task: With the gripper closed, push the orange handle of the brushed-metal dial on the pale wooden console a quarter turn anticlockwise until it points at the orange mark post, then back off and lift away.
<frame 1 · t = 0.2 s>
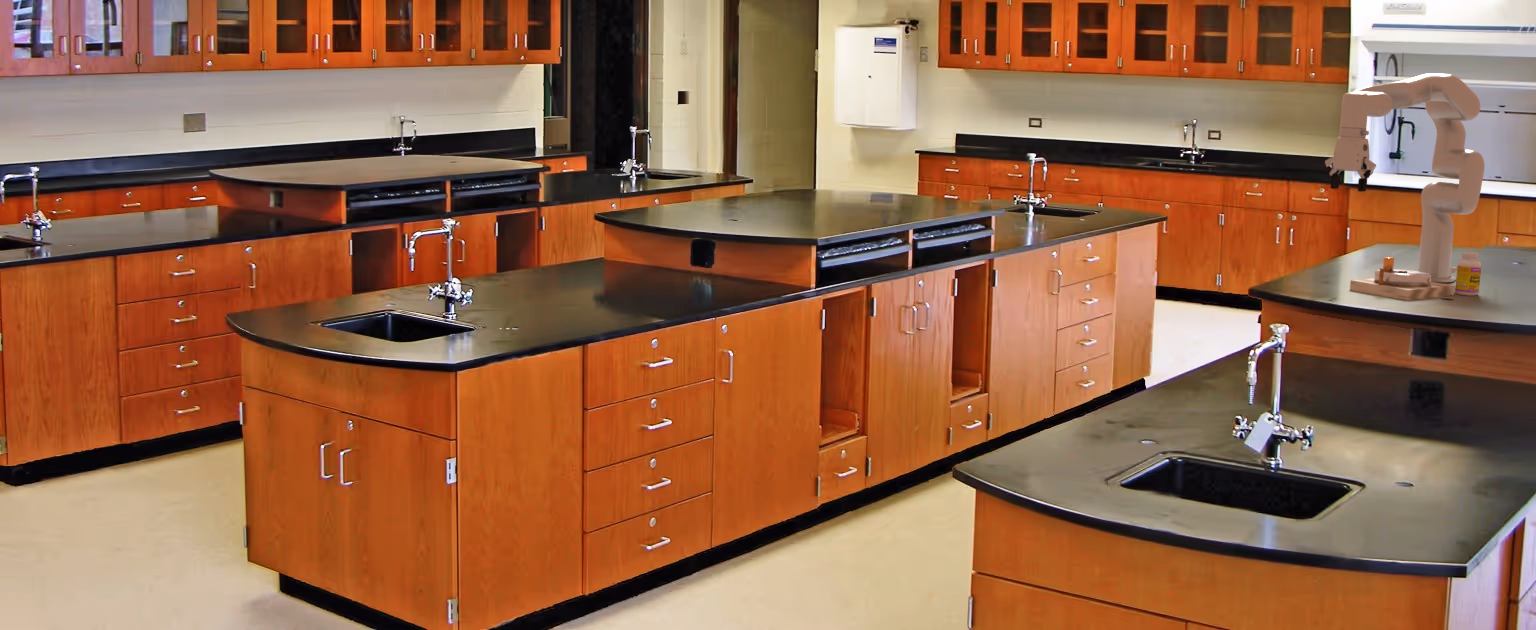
hand: (1348, 189, 475), 31 cm above the counter, fingers open, 9 cm apart
dial: (1403, 271, 474), point 7 cm above the counter, hinge at 0.0°
dial base: (1401, 292, 475), on the counter
supplement bottle: (1466, 295, 474), on the counter
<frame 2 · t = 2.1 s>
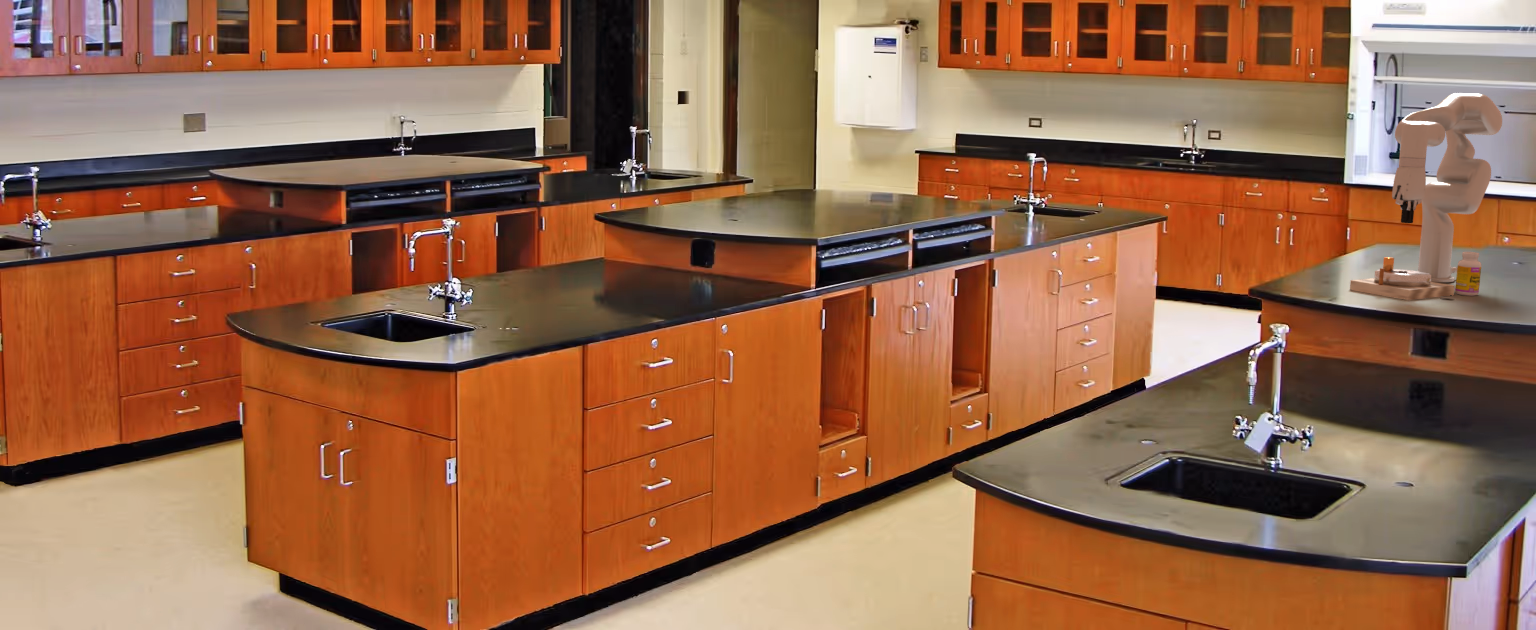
hand: (1406, 222, 480), 21 cm above the counter, fingers closed
nothing on the counter moved.
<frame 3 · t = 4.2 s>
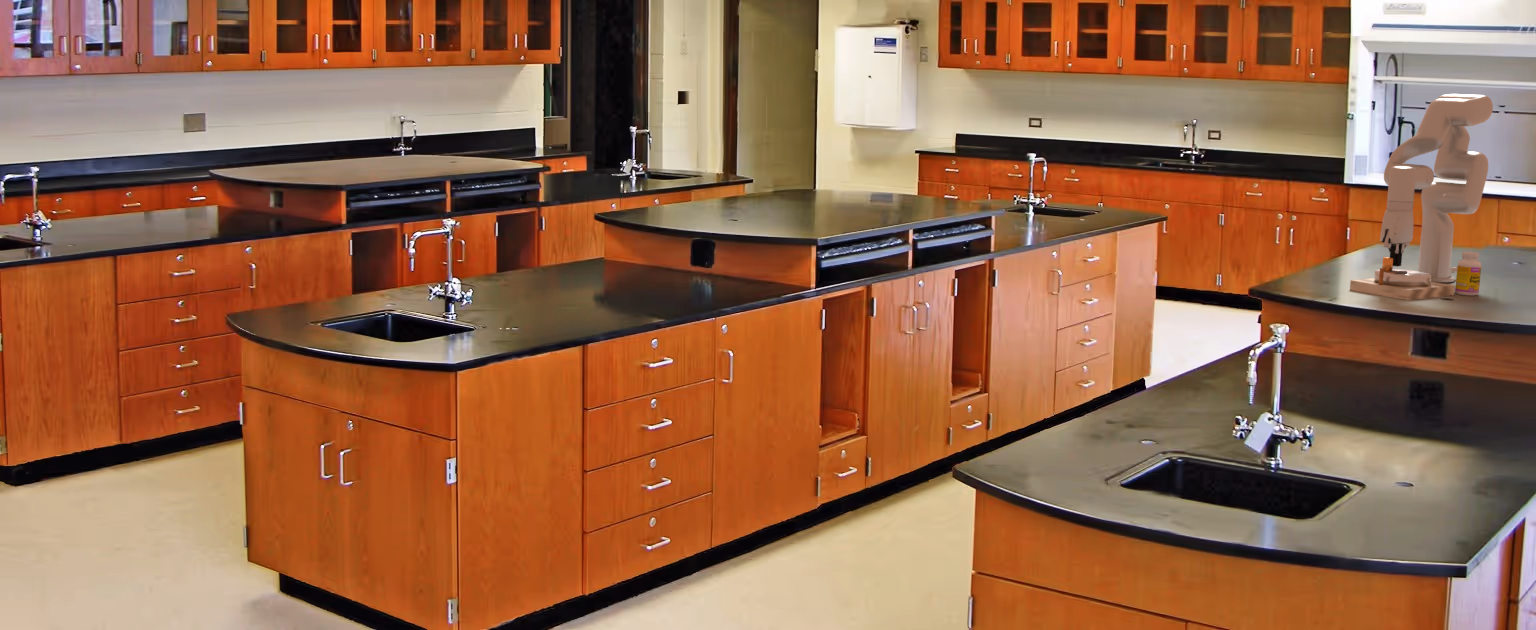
hand: (1395, 265, 480), 7 cm above the counter, fingers closed
dial: (1403, 271, 474), point 7 cm above the counter, hinge at 3.8°, touching gripper
everything else where it was.
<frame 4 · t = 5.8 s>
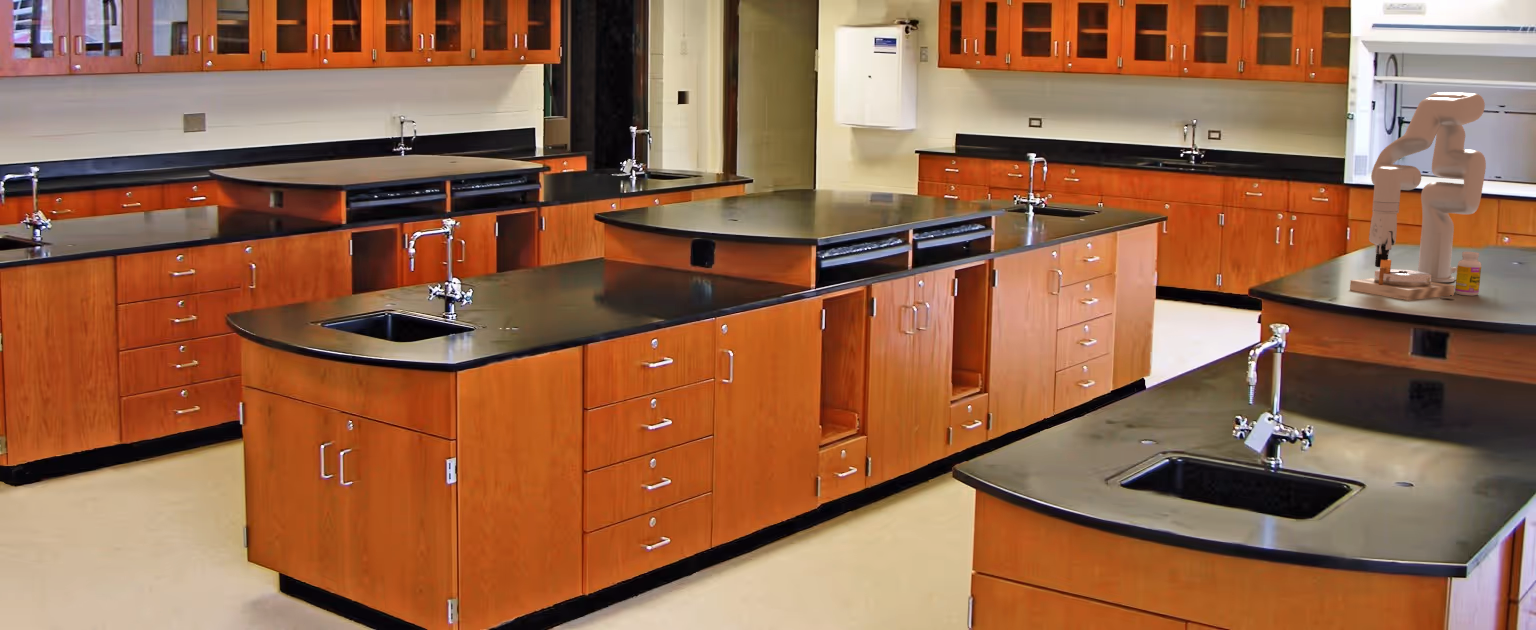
hand: (1381, 266, 478), 7 cm above the counter, fingers closed
dial: (1403, 271, 474), point 7 cm above the counter, hinge at 59.8°, touching gripper
everything else where it was.
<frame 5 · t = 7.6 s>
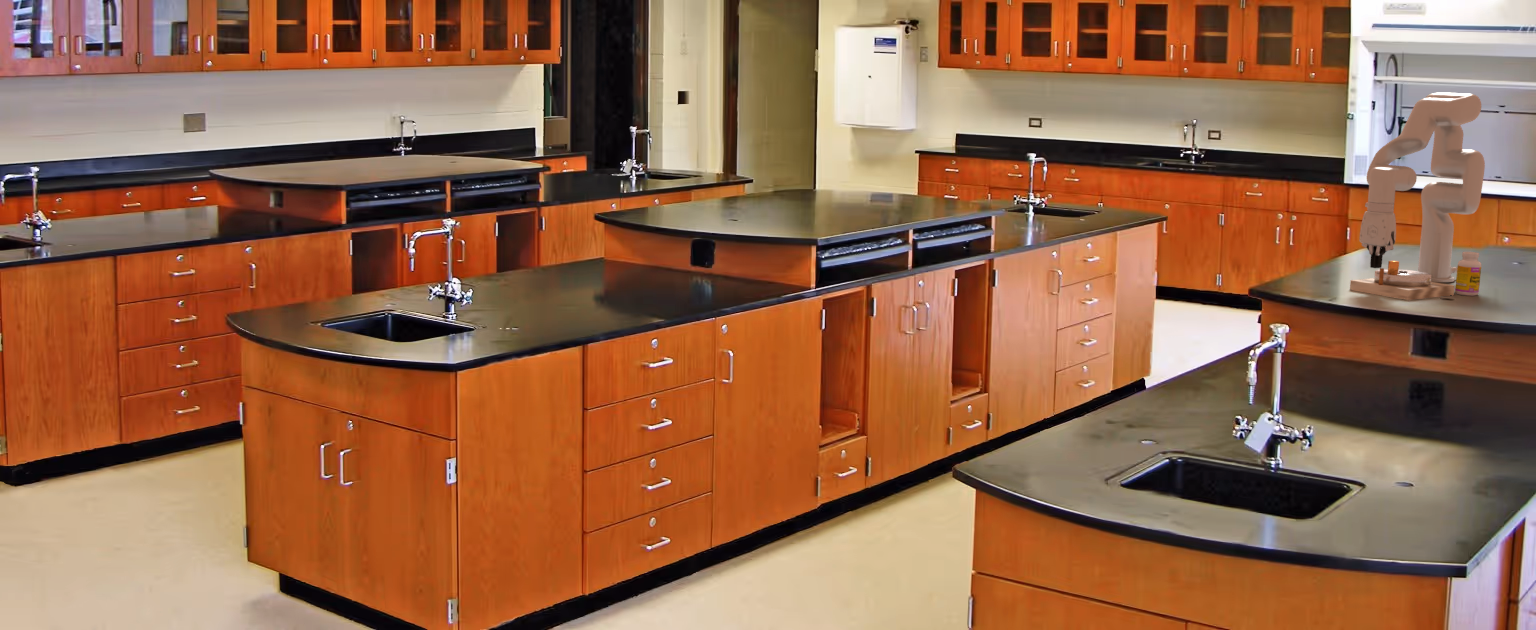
hand: (1375, 267, 477), 7 cm above the counter, fingers closed
dial: (1403, 271, 474), point 7 cm above the counter, hinge at 96.3°
everything else where it was.
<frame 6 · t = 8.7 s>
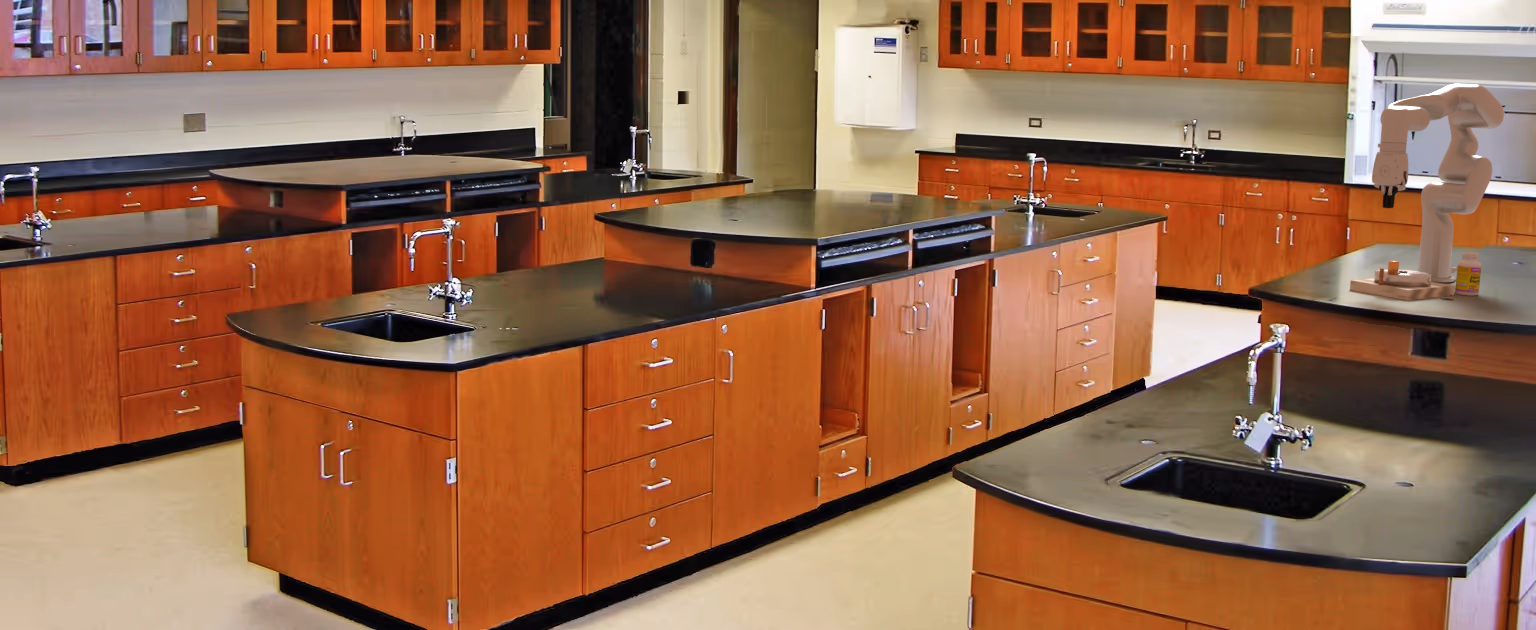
hand: (1387, 207, 480), 25 cm above the counter, fingers closed
nothing on the counter moved.
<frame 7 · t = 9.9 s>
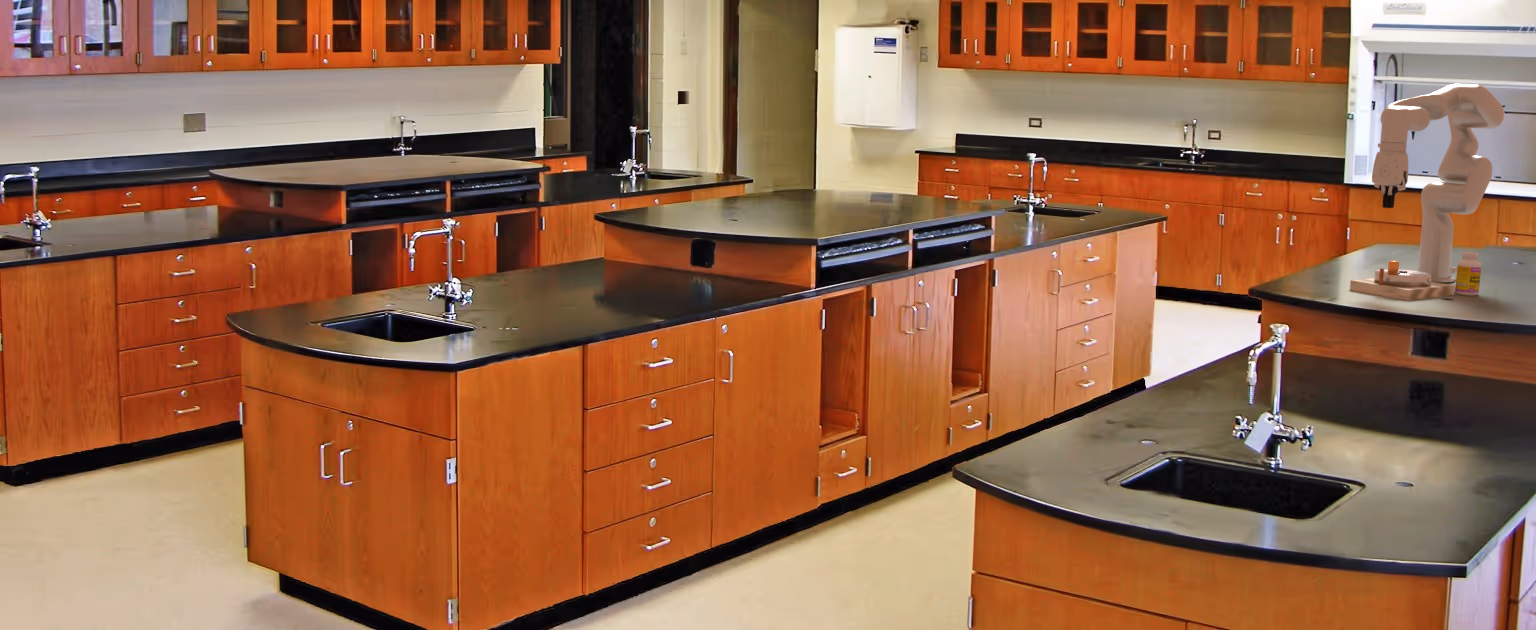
hand: (1387, 207, 480), 25 cm above the counter, fingers closed
nothing on the counter moved.
at the end: dial at +96° (first picture: +0°); supplement bottle moved 0.2 cm from its start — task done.
